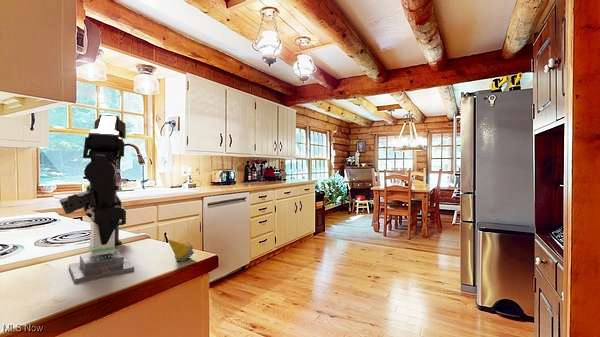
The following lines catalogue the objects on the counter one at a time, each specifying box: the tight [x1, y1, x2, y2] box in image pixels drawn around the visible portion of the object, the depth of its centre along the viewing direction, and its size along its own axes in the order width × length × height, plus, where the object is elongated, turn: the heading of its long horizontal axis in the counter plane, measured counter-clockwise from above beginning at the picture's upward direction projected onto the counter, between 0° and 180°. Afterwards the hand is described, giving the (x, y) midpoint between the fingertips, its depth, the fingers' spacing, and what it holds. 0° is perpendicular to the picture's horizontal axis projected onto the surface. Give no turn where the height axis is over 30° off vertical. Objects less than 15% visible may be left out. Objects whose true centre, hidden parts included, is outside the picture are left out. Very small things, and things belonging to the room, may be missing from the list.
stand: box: [68, 248, 135, 284], centre depth 74 cm, size 12×12×4 cm
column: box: [89, 217, 116, 256], centre depth 74 cm, size 5×5×9 cm
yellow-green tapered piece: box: [167, 239, 195, 262], centre depth 82 cm, size 5×5×10 cm
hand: (102, 242), depth 74 cm, fingers closed on column, 4 cm apart
